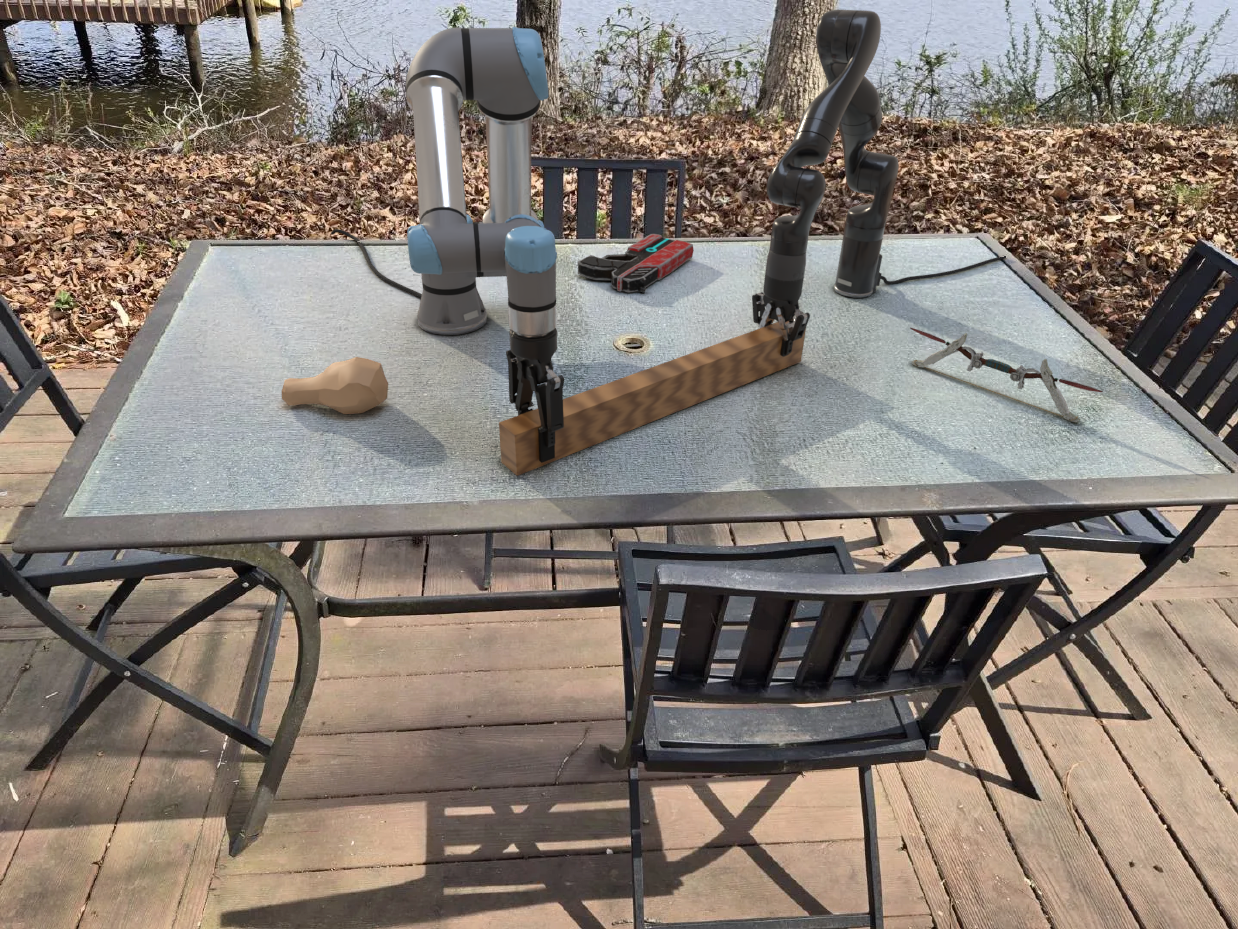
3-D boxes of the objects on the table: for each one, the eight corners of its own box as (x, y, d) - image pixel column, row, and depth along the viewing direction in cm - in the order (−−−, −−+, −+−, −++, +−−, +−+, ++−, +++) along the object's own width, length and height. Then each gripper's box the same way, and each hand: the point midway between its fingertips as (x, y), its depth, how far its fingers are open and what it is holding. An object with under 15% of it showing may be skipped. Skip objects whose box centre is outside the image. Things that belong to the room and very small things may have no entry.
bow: (1091, 425, 165) (1109, 378, 160) (1088, 428, 164) (1106, 381, 159) (904, 358, 187) (914, 315, 181) (900, 361, 186) (910, 317, 180)
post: (517, 476, 147) (514, 435, 143) (501, 462, 150) (498, 422, 146) (801, 361, 184) (806, 326, 179) (783, 352, 187) (788, 317, 183)
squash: (388, 420, 161) (373, 382, 155) (283, 428, 163) (264, 391, 156) (399, 383, 169) (385, 345, 163) (299, 392, 170) (282, 354, 164)
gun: (571, 262, 216) (639, 281, 209) (634, 226, 238) (698, 242, 231) (571, 279, 219) (638, 298, 211) (633, 242, 241) (696, 258, 233)
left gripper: (587, 343, 134) (586, 468, 147) (521, 302, 146) (526, 422, 159) (546, 356, 130) (549, 483, 143) (482, 313, 142) (490, 435, 155)
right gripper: (826, 279, 168) (813, 358, 178) (771, 256, 177) (762, 332, 187) (799, 288, 164) (787, 368, 174) (745, 264, 174) (737, 342, 183)
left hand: (537, 451), depth 151 cm, fingers open, 5 cm apart
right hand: (774, 349), depth 180 cm, fingers closed on post, 5 cm apart
